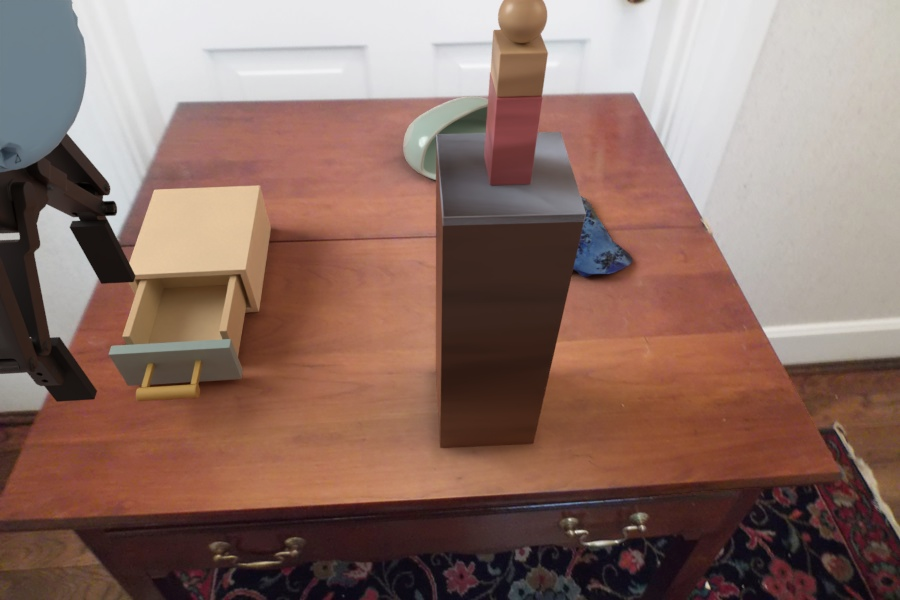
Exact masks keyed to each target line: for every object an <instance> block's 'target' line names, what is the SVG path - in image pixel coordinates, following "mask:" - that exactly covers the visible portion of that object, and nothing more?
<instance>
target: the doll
mask: <svg viewBox="0 0 900 600" xmlns="http://www.w3.org/2000/svg"><path fill="white" fill-rule="evenodd" d="M547 21H548V9H547V6H546V3H545V1H544V0H502V3H501V4H500V6H499V8H498V14H497V23H498V27H499V29H493V30H492V43H491V44H492V45H491V59H490V72H489V79H488V81H489V82H488V95H487V96H488V97H487V99H488V109H487V123H486V138H485V153H484V158H485V163H486V168H487V173H488V178H489V183H490V185H514V184H530V183H531V177H532V170H533V163H534V156H535V148H536V141H537V134H538V132H539V127H540V126H539V125H540V119H541V112H542V103H543V92H544V85H545V79H546V70H547V63H548V56H549V52H548V50H547V46H546V44H545V41H544V39H543V37H542V33H543V31H544V30H545V28H546V25H547Z"/></svg>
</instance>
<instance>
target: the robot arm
mask: <svg viewBox="0 0 900 600" xmlns="http://www.w3.org/2000/svg"><path fill="white" fill-rule="evenodd" d="M78 18H79V17H78V16H77V14H76V12H75V11H74V9H73V0H0V234H3V235H4V234H18V235H19V239H18V238H17V239H0V375H6V374H9V375H10V374H26V373H27V375H28V376H29V377H30V378H31V380H33V382H34V383H35V384H36V385H37V386H39V387H44V388H45V389H46V390H47V391H48V393H49V394H50V395H51V397H52V398H53V399H54V400H55V402H75V401H90V400H91V401H93V400H94V401H95V399H96V396H97V393H98V390H97V388H96V387H95V386H94V384H93V383H92V381H91V380H90V378H89V377H88V376H87V374H86V373H85V371H84V370H83V368H82V367H81V366H80V364H79V363H78V361H77V360H76V358H75V357H74V355H73V354H72V352H71V351H70V350H69V348H68V347H67V345H66V344H65V343H64V341H63V340H62V338H61V337H60V336H56V337H54V336H53V337H51V335H50V329H49V324H48V320H47V314H46V309H45V303H44V299H43V293H42V288H41V283H40V282H41V281H40V277H39V272H38V271H39V270H38V267H37V261H36V256H35V252H36V251H38V250H39V249H40V247H41V239H40V235H39V234H40V233H39V228H38V221H39V218H40V213H41V211H42V210H44V208H45V207H46V206H49V207H51V208H53V209H55V210H57V211H59V212H61V213H63V214H65V215H68V216H69V217H71V218H78V219H79V220H71V223H70V225H69V229H70V230H71V233H72V235H73V236H74V238H75V240H76V241H77V244H78V245H79V247H80V249H81V250H82V252H83V254H84V255H85V257H86V259H87V261H88V263H89V264H90V266H91V268H92V270H93V271H94V273H95V275H96V278H98V280H99V282H100V284H102V285H103V284H123V283H129V282H134V279H135V274H134V272H133V270H132V268H131V266H130V264H129V262H130V261H128V258H127V255H126V253H125V252H124V250H123V247H122V245H121V244H120V242H119V240H118V238H117V236H116V234H115V232H114V229H113V228H112V226H111V224H110V222H109V220H108V218H107V217H116V216H117V213H118V206H117V203H116V202H115V201H114V200H103V199H104V196H110V194H111V185H110V182H108V181H109V180H107V179H106V177H104V175H103V174H102V173H101V171H99V170H98V168H97V167H96V166H95V164H93V162H92V161H91V160H90V158H88V157H87V155H86V154H85V153H84V152H83V151H82V150H81V148H80V147H79V145H78V144H77V143H76V142H75V141H74V140H73V139H72V138H71V137H70V135H69V134H68V132H69V130H70V129H71V128H72V126H73V125H74V123H75V121H76V118H77V116H78V114H79V112H80V109H81V106H82V102H83V99H84V95H85V89H86V81H87V52H86V44H85V38H84V36H83V34H82V32H81V30H80V27H79V25H78V23H79V22H78V21H79V20H78Z"/></svg>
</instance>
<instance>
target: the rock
mask: <svg viewBox="0 0 900 600" xmlns="http://www.w3.org/2000/svg"><path fill="white" fill-rule="evenodd" d="M580 196H581V199H582V202H583V206H584V209H585V212H586V216H585V220H584V224H583V229H582V233H581V237H580V242H579V246H578V250H577V255H576V259H575V264H574V268H573V271H575V272H577V273H578V274H579V275H580V276H581V277H584V278H588V277H590V276H595V275H609V274H613V273H616V272H618V271H621V270H624V269H625V268H627V267H629V266H630V265H631V264H632V263H633V257H632V256H631V255H630V253H628V251H626V250H625V249H624V248H623V247H621V246H620V245H619V244H617V242H615V241H614V240H613V238H611V235H610V233H609V232H608V230H607V229H606V228H605V226H604V225H603V223H602V222H601V220H600V218H599V217H598V214H597V213H596V211H595V209H594V207H593V204H592V203H591V202H590V201H589V200H588V199H587V198H586V197H584V196H582V195H580Z"/></svg>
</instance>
